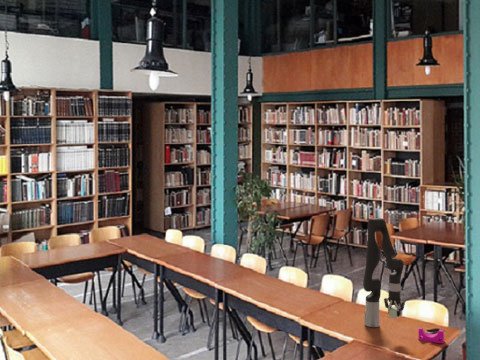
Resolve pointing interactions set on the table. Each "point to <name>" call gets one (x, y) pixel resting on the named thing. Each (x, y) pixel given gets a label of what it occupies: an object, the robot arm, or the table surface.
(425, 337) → the toy block
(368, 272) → the robot arm
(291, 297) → the table surface
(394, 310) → the green brick
